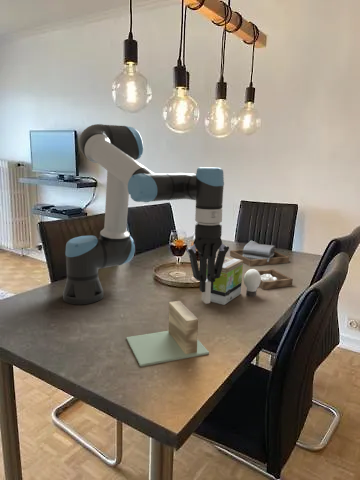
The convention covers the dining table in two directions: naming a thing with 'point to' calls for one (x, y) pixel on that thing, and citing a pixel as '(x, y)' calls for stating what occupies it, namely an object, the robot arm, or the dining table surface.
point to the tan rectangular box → (183, 327)
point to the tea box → (227, 281)
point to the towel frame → (278, 259)
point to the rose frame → (280, 282)
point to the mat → (159, 348)
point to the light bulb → (252, 282)
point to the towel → (258, 251)
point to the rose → (267, 277)
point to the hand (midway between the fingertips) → (205, 301)
